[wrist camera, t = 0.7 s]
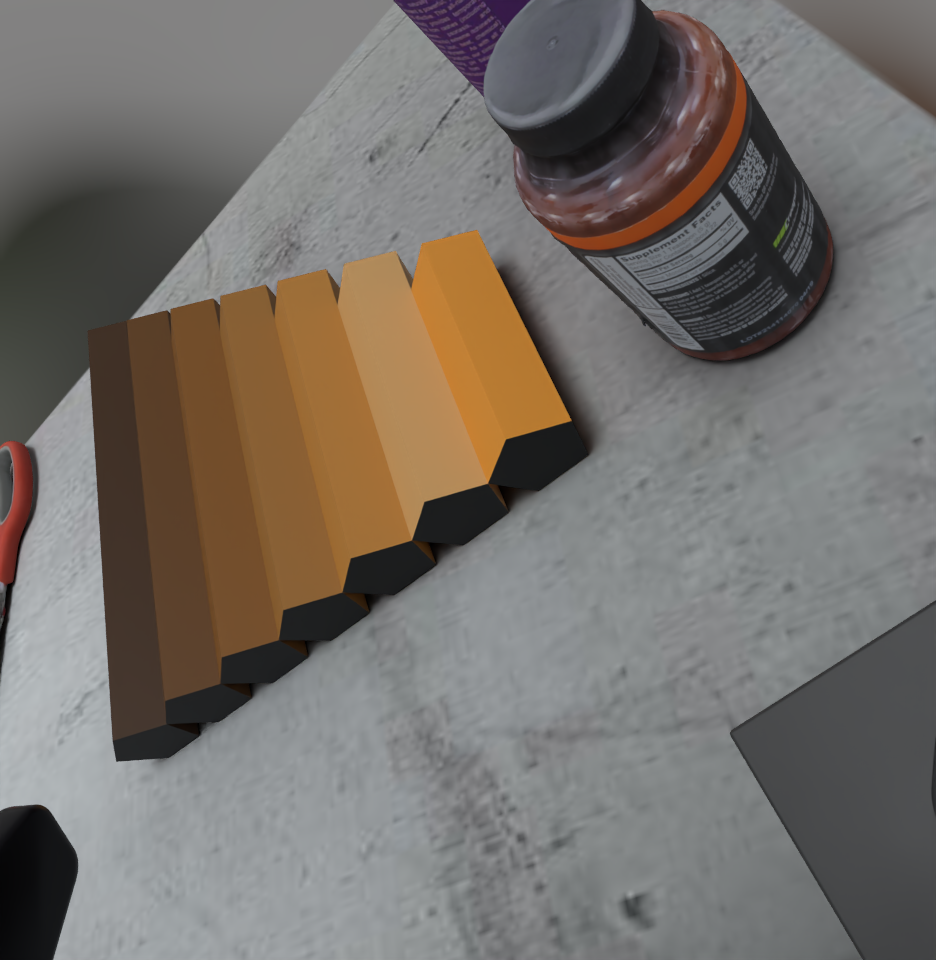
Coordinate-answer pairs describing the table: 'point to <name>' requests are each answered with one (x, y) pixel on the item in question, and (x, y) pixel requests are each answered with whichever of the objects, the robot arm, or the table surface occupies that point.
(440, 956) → the table surface
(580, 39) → the supplement bottle
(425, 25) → the container
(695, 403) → the table surface
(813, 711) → the black rectangular block
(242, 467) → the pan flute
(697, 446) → the table surface
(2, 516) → the scissors
